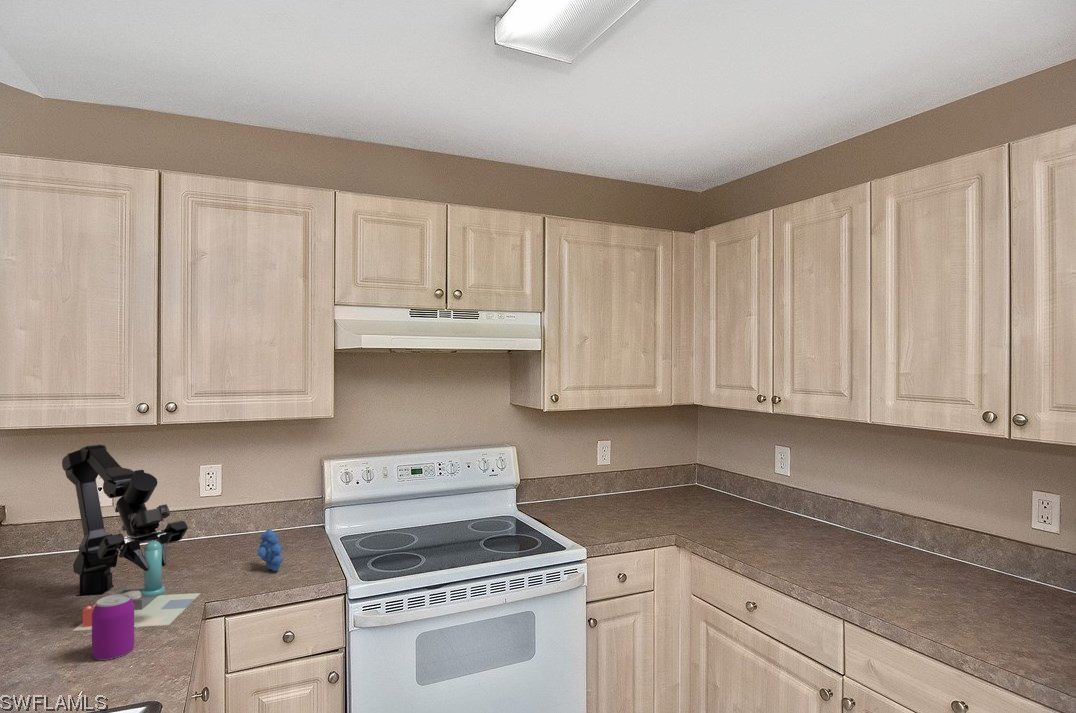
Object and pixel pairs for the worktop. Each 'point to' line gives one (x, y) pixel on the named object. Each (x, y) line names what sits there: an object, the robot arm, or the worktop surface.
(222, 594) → the worktop surface
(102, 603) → the beverage can
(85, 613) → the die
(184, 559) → the worktop surface
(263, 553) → the grapes
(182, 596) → the board
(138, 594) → the dome
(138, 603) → the tray
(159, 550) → the teal dildo
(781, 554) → the worktop surface
